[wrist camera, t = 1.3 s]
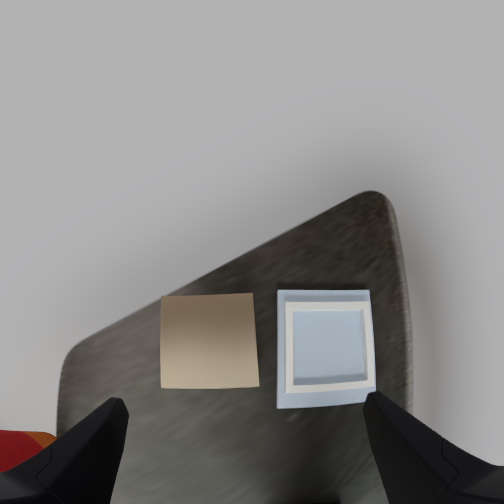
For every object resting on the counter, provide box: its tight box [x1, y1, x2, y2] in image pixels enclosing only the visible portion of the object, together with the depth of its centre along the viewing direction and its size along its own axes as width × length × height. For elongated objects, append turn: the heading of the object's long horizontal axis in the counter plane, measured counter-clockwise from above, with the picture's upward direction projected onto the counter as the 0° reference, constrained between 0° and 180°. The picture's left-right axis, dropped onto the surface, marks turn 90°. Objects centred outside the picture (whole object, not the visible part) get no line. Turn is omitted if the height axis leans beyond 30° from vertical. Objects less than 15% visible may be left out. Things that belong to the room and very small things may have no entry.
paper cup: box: [0, 430, 58, 472], centre depth 10 cm, size 8×8×14 cm
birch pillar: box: [160, 293, 259, 389], centre depth 17 cm, size 4×4×11 cm
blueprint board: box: [276, 290, 376, 409], centre depth 22 cm, size 10×8×2 cm
